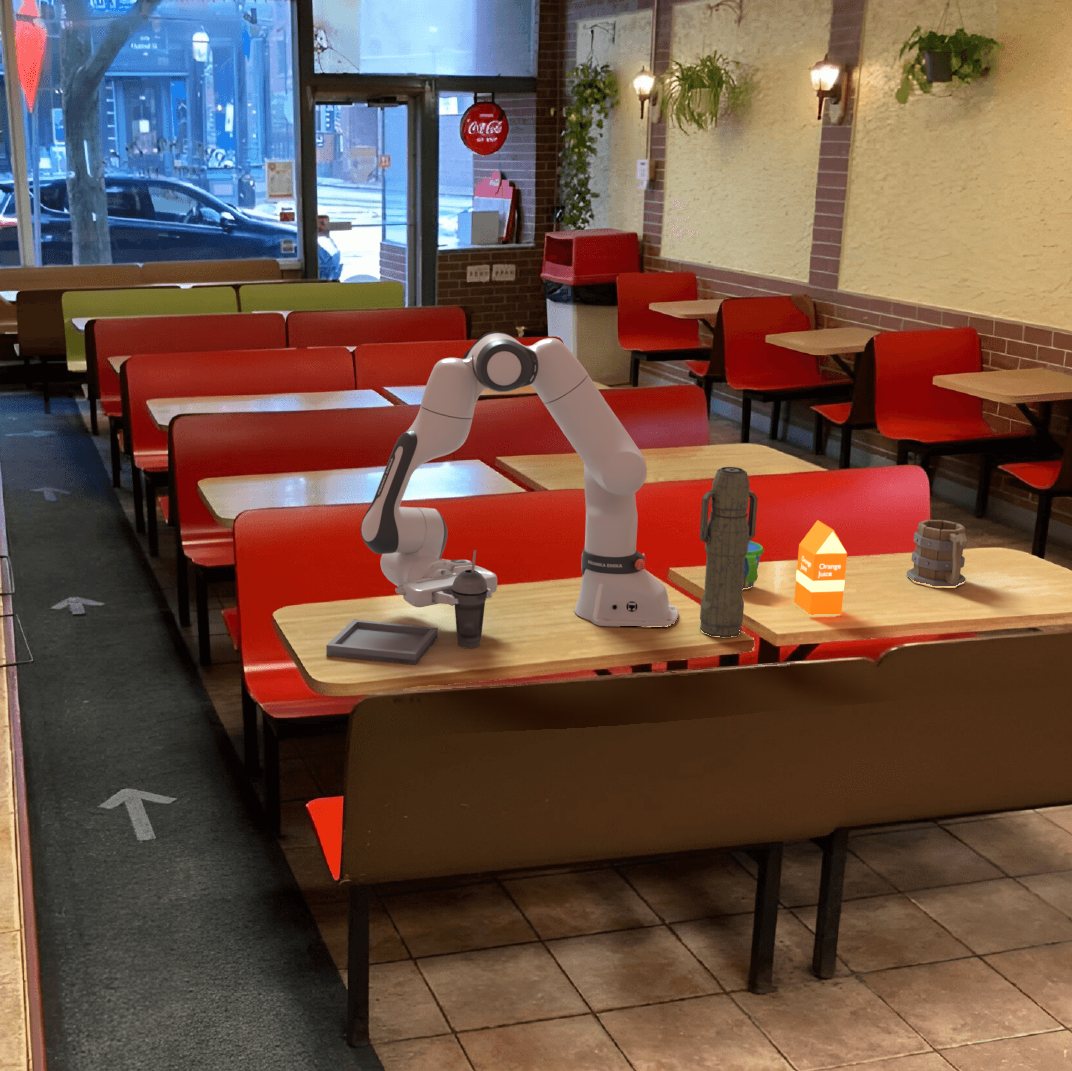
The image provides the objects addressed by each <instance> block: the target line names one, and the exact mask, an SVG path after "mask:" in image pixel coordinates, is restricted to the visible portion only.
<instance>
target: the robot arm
mask: <svg viewBox="0 0 1072 1071" xmlns="http://www.w3.org/2000/svg"><path fill="white" fill-rule="evenodd" d="M527 386H531V388H532V389H533V390H534V391H535V393H536V394H537V395H538V397H539V398H540V401H542V403H543V405H544V406H545V408H546V409H547V410H548V412H549V414H550V415H551V417H552V419H554V421H555V423H556V425H557V426H558V427H559V429H560V430H561V431H562V433H563V435H564V436H565V437H566V439H567V440H568V442H569V443H570V444H571V447H572V448H573V449H574V450H575V452H576V454H577V455H578V456H579V458H580V459H581V461H582V462H583V479H584V480H583V482H584V483H583V484H584V499H585V501H584V503H585V533H584V535H585V536H584V538H585V539H584V548H583V549H582V553H581V561H580V563H581V565H580V566H581V568H580V569H581V574H582V576H581V584H580V590H579V594H578V599H577V602H576V605H575V608H574V613H575V614H576V616H579V617H580V618H582V619H584V620H586V621H587V620H588V621H590V622H592V623H593V624H594V625H596V626H598V627H620V626H662V627H665V626H667V625H668V626H669V625H670V624H673V623H674V622H675V621H676V620H677V621H678V619H679V610H678V609H677V607H676V606H675V605H673V604H670V602H669V596H668V595H669V594H668V590H667V587H666V586H665V584H664V583H663V582H661V581H660V580H659V579H657V578H656V577H655V576H654V575H653V574H652V573H650V572H649V571H647V570H646V568H645V566H646V555H645V553H644V552H643V553H641V552H639V551H638V550H637V536H638V535H637V534H638V519H639V518H638V516H639V515H638V510H637V502H636V492H638V491H639V490H641V488H642V486H643V485H644V483H645V481H646V479H647V473H648V472H647V471H648V470H647V462H646V460H645V457H644V455H643V453H642V452H641V450H640V448H639V447H638V446H637V444H636V443H635V441H634V440H633V439H632V437H631V436H630V434H629V433H628V431H627V430H626V428H625V426H624V425H623V424H622V423H621V421H620V419H619V418H618V417H617V416H616V414H615V413H614V411H613V410H612V408H611V407H610V405H609V404H608V402H607V401H606V400H605V397H604V396H603V395H602V394H601V392H600V390H599V389H598V387H597V385H596V384H595V382H594V381H593V380H592V378H591V377H590V374H589V373H588V372H587V370H586V368H584V366H583V365H582V363H581V362H580V360H579V359H578V358H577V357H576V356H575V354H574V353H573V352H572V351H571V350H570V349H569V348H568V347H567V345H565V344H564V342H562V341H561V340H560V339H558V338H554V337H547V338H543V339H540V340H538V341H537V342H535V343H534V344H532V345H524V344H522V343H521V342H520V341H518V339H516V338H514V337H513V336H512V335H510V334H508V333H506V332H503V331H491V332H487V333H485V334H484V335H482V336H480V337H479V338H478V339H477V340H476V341H475V342H474V343H473V345H472V346H471V347H470V348H469V349H467V351H465V353H464V354H463V356H462V358H458V357H446V358H442V359H439V360H438V361H437V362H436V363H435V364H434V366H433V368H432V370H431V372H430V376H429V377H428V380H427V383H426V385H425V388H424V391H423V394H422V397H421V403H420V407H419V410H418V413H417V415H416V417H415V419H414V420H413V422H412V424H411V425H410V427H409V428H408V429H407V430H406V431H405V432H403V433H401V434H400V436H399V437H398V438H397V440H396V442H395V444H394V446H393V449H392V451H391V454H390V455H389V458H388V461H387V464H386V466H385V469H384V471H383V474H382V477H381V479H380V482H379V483H378V484H379V485H378V487H377V490H376V493H375V494H374V497H373V499H372V502H371V504H370V505H369V507H368V509H367V510H366V512H365V514H364V516H363V518H362V521H361V525H360V535H361V539H362V540H363V542H364V543H365V545H366V547H367V548H368V549H369V550H370V551H371V552H373V553H374V554H376V555H381V556H380V569H381V572H382V574H383V575H384V576H385V577H386V579H387V580H388V581H389V582H391V583H392V584H394V585H395V586H396V587H395V589H394V591H395V593H396V594H399V595H401V596H402V598H403V600H404V601H405V602H406V603H408V604H409V605H411V606H412V607H415V608H424V607H425V608H426V607H429V606H434V605H449V606H450V607H451V606H452V607H453V606H455V605H457V604H459V602H458V600H459V598H458V597H457V596H456V595H454V594H453V592H452V587H453V582H454V580H455V578H456V577H457V575H458V574H459V573H461V572H462V571H465V570H472V561H471V560H468V559H445V558H442V555H443V553H444V551H445V548H446V545H447V541H448V527H447V523H446V521H445V519H444V517H443V515H442V513H440V512H439V511H438V510H437V509H436V508H433V507H431V508H430V507H419V506H418V507H417V506H416V507H414V506H413V507H412V506H411V507H410V506H401V504H402V501H403V498H404V495H405V493H406V490H407V487H408V486H409V483H410V480H411V477H412V475H413V474H414V472H415V471H416V470H417V469H418V468H419V467H421V466H422V465H423V464H426V463H427V462H429V461H431V460H435V459H437V458H440V457H445V456H447V455H449V454H452V453H454V452H456V451H457V450H458V449H460V448H461V447H462V446H463V445H464V443H466V440H467V439H468V436H469V434H470V431H471V427H472V423H473V418H474V414H475V409H476V405H477V403H478V399H479V397H480V395H481V394H482V393H483V392H484V391H485V390H486V389H489V390H491V391H493V392H497V393H499V392H500V393H505V392H506V393H507V392H508V393H509V392H511V391H515V390H517V389H519V388H520V389H521V388H524V387H527ZM474 570H475V571H478V572H479V573H480V574H482V575H483V577H484V578H485V580H486V583H487V589H488V592H487V597H486V600H487V599H490V598H492V597H493V595H492V594H493V593H496V592H497V589H498V577H497V574H496V573H495V572H492V571H490V570H488V569H486V568H484V567H481V566H478V565H475V567H474ZM677 618H678V619H677ZM677 621H676V622H677ZM673 625H674V624H673Z"/></svg>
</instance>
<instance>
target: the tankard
mask: <svg viewBox="0 0 1072 1071" xmlns="http://www.w3.org/2000/svg"><path fill="white" fill-rule="evenodd" d="M913 543H915V550H913V551H912V552H911V562H913V568H912V569H908V570H907V571H906V577H907V576H908V577H910V578H911V579H912V580H914V581H916V582H920V583H926V584H930V585H932V586H956V585H958V584H959V583H962V582H964V581H965V582H966V580H967V579H966V577H965V576H964V575H963V574H961V572H962V571H961V570H962V568H964V567H965V561H966V558H965V556H963V554H964V552H963V551H964V549H966V548H967V545H968V544H969V541H968V538H967V536H966V527H965V526H964V525H962V524H961V523H958V522H953V521H949V520H946V519H945V520H943V519H925V520H922V521H920V522H918V525H917V531H915V532H914V534H913ZM908 577H907V578H908Z"/></svg>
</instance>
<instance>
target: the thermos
mask: <svg viewBox="0 0 1072 1071" xmlns="http://www.w3.org/2000/svg"><path fill="white" fill-rule="evenodd" d="M749 480H750V479H749V475H748V472H747V471H746V470H745V469H743V468H741V467H736V466H724V467H721V468H718V469H717V470H716V473H715V475H714V477H713V481H712V482H711V483H712V485H711V489H710V490H709V491H706V492H705V494H704V495H703V496H702V498H701V508H700V509H701V510H700V525H699V526H700V527H699V538H700V541H701V542H705V546H704V551H705V553H706V561H705V562H706V563H705V576H704V592H703V596H702V598H701V600H700V611H699V619H700V627H699V630H700V629H701V630H702V631H703V632H704V633H707V634H709V635H711V636H720V637H731V636H737V637H739V636H740V635H739V633H740V634H742V624H743V620H744V610H745V609H744V607H745V600H744V598H743V591H742V589H743V576H744V563H745V556H746V554H747V552H748V543H749V541H752V539H754V538H755V536H756V524H757V511H758V499H759V498H758V496H757V495H756V494H755V492H753V491H752V490H750V486H751V484H750V481H749ZM710 502H711V503H710ZM709 505H710V506H711V510H710V511H709V507H710V506H709ZM747 511H748V512H747ZM709 512H710V514H709ZM739 630H740V631H739ZM738 635H739V636H738Z"/></svg>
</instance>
